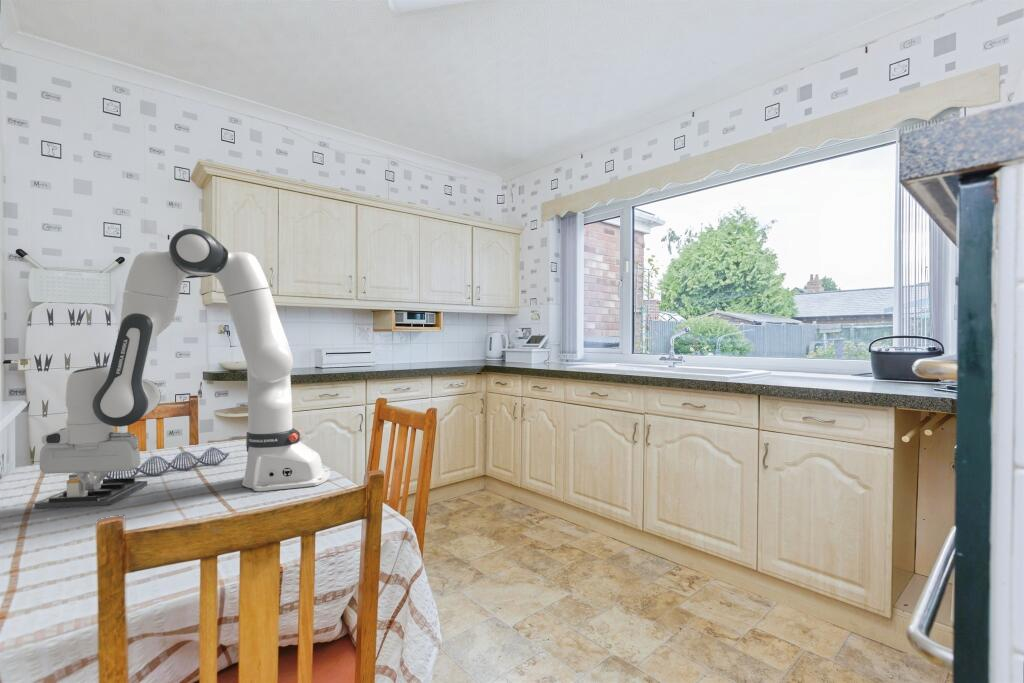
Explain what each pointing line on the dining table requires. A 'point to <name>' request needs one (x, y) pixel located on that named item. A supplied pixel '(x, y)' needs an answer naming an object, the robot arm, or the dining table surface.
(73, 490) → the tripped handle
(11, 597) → the dining table surface
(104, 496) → the panel
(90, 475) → the handle
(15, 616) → the dining table surface
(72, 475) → the white rectangular block
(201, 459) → the decorative sculpture
